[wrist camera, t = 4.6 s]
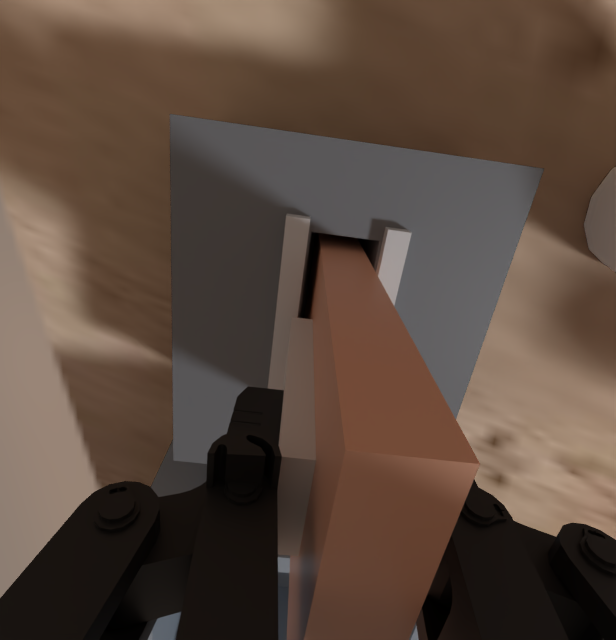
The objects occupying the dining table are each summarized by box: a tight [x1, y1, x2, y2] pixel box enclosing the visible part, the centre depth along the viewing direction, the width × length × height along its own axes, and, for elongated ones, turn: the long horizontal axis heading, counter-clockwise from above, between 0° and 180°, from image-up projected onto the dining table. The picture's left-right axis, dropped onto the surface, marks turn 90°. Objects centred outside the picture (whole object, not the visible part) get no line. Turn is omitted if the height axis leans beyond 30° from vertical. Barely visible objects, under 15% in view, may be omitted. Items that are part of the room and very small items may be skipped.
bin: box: [148, 440, 419, 640], centre depth 25 cm, size 16×15×9 cm
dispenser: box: [170, 114, 544, 464], centre depth 18 cm, size 14×12×8 cm
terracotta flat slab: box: [287, 232, 480, 640], centre depth 13 cm, size 7×2×15 cm, turn 172°
